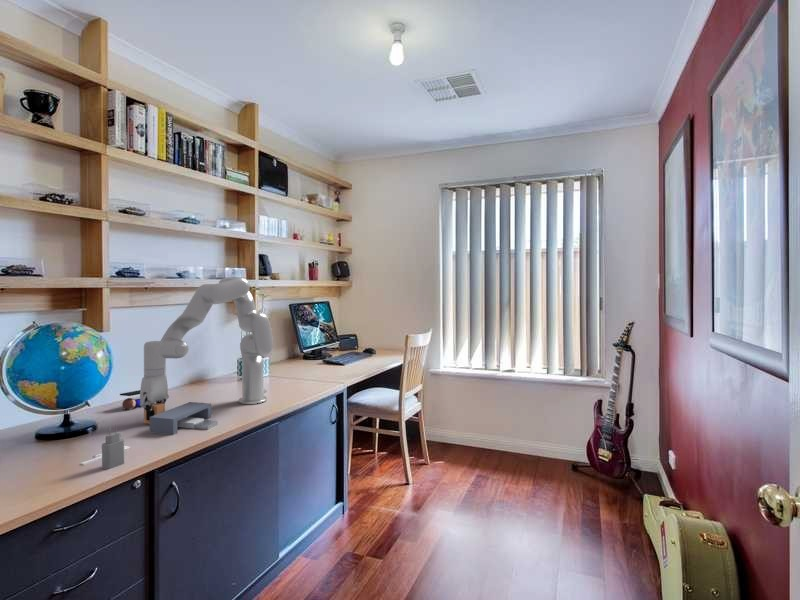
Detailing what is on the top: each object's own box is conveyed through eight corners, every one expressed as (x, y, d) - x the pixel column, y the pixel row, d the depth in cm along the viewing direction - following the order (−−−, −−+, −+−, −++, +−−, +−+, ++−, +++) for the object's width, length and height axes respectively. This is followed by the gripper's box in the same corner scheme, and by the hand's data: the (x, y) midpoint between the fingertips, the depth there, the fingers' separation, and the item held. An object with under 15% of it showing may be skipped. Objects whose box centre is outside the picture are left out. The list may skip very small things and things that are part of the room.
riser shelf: (190, 415, 186) (189, 401, 185) (211, 417, 184) (211, 403, 183) (149, 432, 164) (149, 417, 164) (173, 434, 162) (173, 419, 162)
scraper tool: (153, 419, 180) (153, 402, 180) (203, 423, 175) (203, 406, 175) (142, 423, 174) (142, 406, 174) (193, 428, 169) (193, 410, 169)
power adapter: (125, 463, 136) (125, 424, 136) (107, 469, 131) (107, 429, 131) (118, 461, 137) (118, 422, 137) (100, 467, 132) (100, 427, 132)
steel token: (204, 424, 175) (204, 419, 175) (217, 426, 174) (217, 420, 174) (194, 429, 169) (194, 424, 169) (208, 430, 168) (208, 425, 168)
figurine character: (147, 404, 207) (117, 409, 193) (149, 388, 208) (119, 391, 193) (159, 406, 205) (129, 411, 190) (160, 389, 205) (130, 393, 191)
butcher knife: (73, 463, 136) (73, 460, 136) (120, 447, 150) (120, 444, 150) (84, 466, 134) (84, 462, 134) (130, 449, 148) (130, 446, 148)
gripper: (162, 368, 185) (162, 412, 185) (129, 376, 168) (129, 424, 169) (178, 369, 183) (178, 413, 184) (146, 377, 167) (146, 425, 167)
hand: (154, 418), depth 176 cm, fingers closed on scraper tool, 4 cm apart
